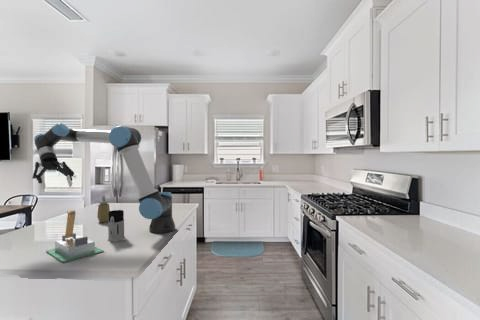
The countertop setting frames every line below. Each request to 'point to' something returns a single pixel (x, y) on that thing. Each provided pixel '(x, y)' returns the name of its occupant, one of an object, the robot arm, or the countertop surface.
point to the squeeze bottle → (103, 210)
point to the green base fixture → (73, 248)
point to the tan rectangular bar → (70, 224)
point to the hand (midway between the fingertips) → (58, 186)
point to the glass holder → (116, 225)
